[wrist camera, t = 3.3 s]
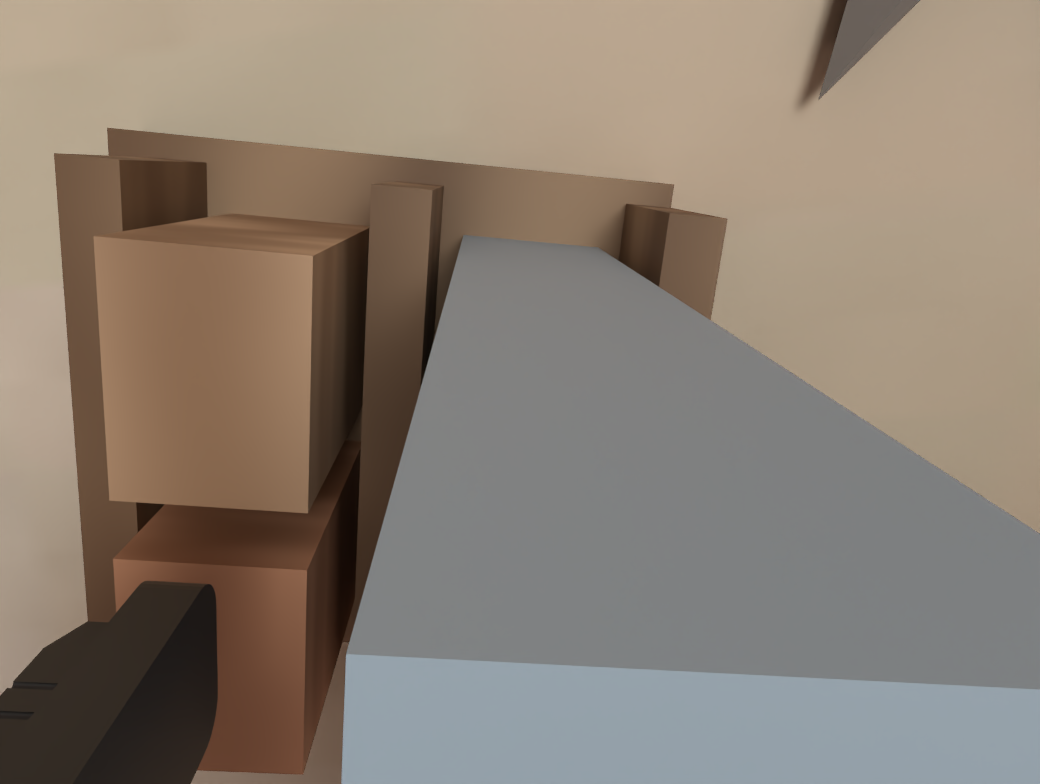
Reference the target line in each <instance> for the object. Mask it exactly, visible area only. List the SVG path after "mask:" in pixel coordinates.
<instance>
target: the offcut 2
mask: <svg viewBox="0 0 1040 784" xmlns="http://www.w3.org/2000/svg"><path fill="white" fill-rule="evenodd" d="M360 457H361V441H351V440H345V441H344V443H343V445H342V447H341V449H340V451H339V453H338V455H337V457H336V459H335V461H334V463H333V465H332V467H331V469H330V471H329V473H328V475H327V477H326V479H325V481H324V483H323V485H322V487H321V489H320V491H319V493H318V495H317V497H316V499H315V501H314V503H313V505H312V506H311V508H310V510H309V512H308V513H294V512H279V511H263V510H248V509H232V508H217V507H201V506H186V505H171V504H165V505H164V506H163V507H162V508H161V509H160V510H159V511H158V512H157V513H156V514H155V515H154V516H153V517H152V518H151V519H150V521H149V522H148V523H147V524H146V525H145V526H144V527H143V528H142V529H141V530H140V531H139V532H138V533H137V534H136V535H135V536H134V537H133V538H132V539H131V541H130V542H129V543H128V544H127V545H126V546H125V547H124V548H123V549H122V550H121V551H120V552H119V553H118V554H117V555H116V556H115V557H114V558H113V567H114V584H115V600H116V612H117V611H118V610H119V609H120V608H121V606H122V605H123V604H124V603H125V601H126V600H127V599H128V598H129V597H130V595H131V594H132V593H133V592H134V591H135V589H136V588H137V587H138V586H139V585H140V584H141V583H142V582H144V581H165V582H182V583H200V584H211V585H212V586H213V588H214V591H215V595H216V609H217V668H218V701H217V710H216V716H215V722H214V726H213V730H212V734H211V738H210V741H209V744H208V747H207V749H206V752H205V754H204V756H203V758H202V760H201V762H200V764H199V767H198V769H197V770H203V771H228V772H254V773H279V774H303V773H304V769H305V766H306V763H307V759H308V756H309V753H310V749H311V746H312V742H313V739H314V736H315V732H316V729H317V725H318V722H319V719H320V715H321V712H322V709H323V705H324V702H325V698H326V695H327V692H328V688H329V685H330V682H331V678H332V675H333V671H334V668H335V665H336V661H337V658H338V655H339V651H340V648H341V644H342V641H343V638H344V634H345V631H346V627H347V624H348V621H349V617H350V614H351V611H352V607H353V604H354V600H355V584H356V558H357V533H358V507H359V482H360Z"/></svg>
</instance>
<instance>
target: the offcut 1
mask: <svg viewBox="0 0 1040 784" xmlns="http://www.w3.org/2000/svg"><path fill="white" fill-rule="evenodd" d="M369 227H370V226H362V225H352V224H341V223H330V222H319V221H309V220H298V219H287V218H276V217H266V216H255V215H244V214H234V213H230V214H224V215H218V216H212V217H206V218H200V219H194V220H188V221H182V222H176V223H170V224H164V225H158V226H152V227H146V228H140V229H134V230H128V231H122V232H116V233H110V234H104V235H98V236H94V253H95V270H96V286H97V303H98V319H99V336H100V352H101V369H102V385H103V402H104V418H105V435H106V451H107V468H108V485H109V501H124V502H140V503H155V504H171V505H186V506H201V507H217V508H232V509H248V510H263V511H279V512H294V513H308V512H309V510H310V508H311V506H312V505H313V503H314V501H315V499H316V497H317V495H318V493H319V491H320V489H321V487H322V485H323V483H324V481H325V479H326V477H327V475H328V473H329V471H330V469H331V467H332V465H333V463H334V461H335V459H336V457H337V455H338V453H339V451H340V449H341V447H342V445H343V443H344V441H345V439H346V437H347V436H348V434H349V432H350V430H351V428H352V426H353V424H354V422H355V420H356V418H357V416H358V414H359V412H360V410H361V408H362V406H363V380H364V355H365V329H366V304H367V278H368V253H369Z"/></svg>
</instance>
